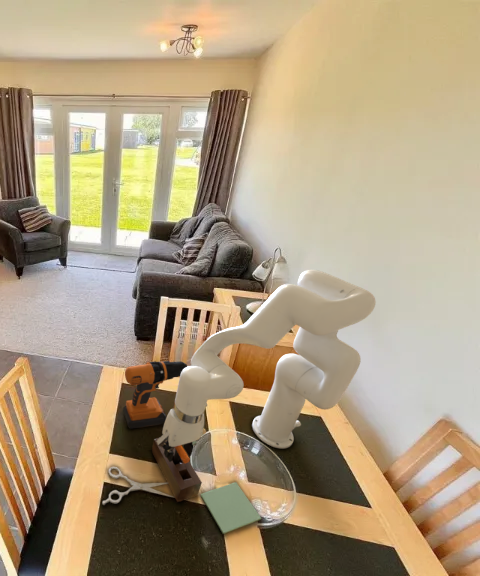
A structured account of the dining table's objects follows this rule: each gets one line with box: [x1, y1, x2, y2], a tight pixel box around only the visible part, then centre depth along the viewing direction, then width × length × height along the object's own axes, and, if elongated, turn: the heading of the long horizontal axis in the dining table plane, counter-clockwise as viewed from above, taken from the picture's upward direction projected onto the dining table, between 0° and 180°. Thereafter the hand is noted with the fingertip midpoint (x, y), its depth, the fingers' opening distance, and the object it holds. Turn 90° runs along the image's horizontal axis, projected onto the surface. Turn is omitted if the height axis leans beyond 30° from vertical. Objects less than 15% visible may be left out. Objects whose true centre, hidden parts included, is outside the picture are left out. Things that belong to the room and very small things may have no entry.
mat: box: [200, 481, 262, 535], centre depth 86 cm, size 12×10×1 cm
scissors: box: [102, 466, 173, 506], centre depth 90 cm, size 11×1×20 cm
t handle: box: [173, 445, 191, 465], centre depth 91 cm, size 2×8×12 cm, turn 17°
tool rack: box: [151, 437, 203, 503], centre depth 93 cm, size 7×16×6 cm, turn 18°
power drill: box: [122, 360, 189, 429], centre depth 106 cm, size 22×7×25 cm, turn 101°
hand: (177, 453), depth 90 cm, fingers open, 5 cm apart
